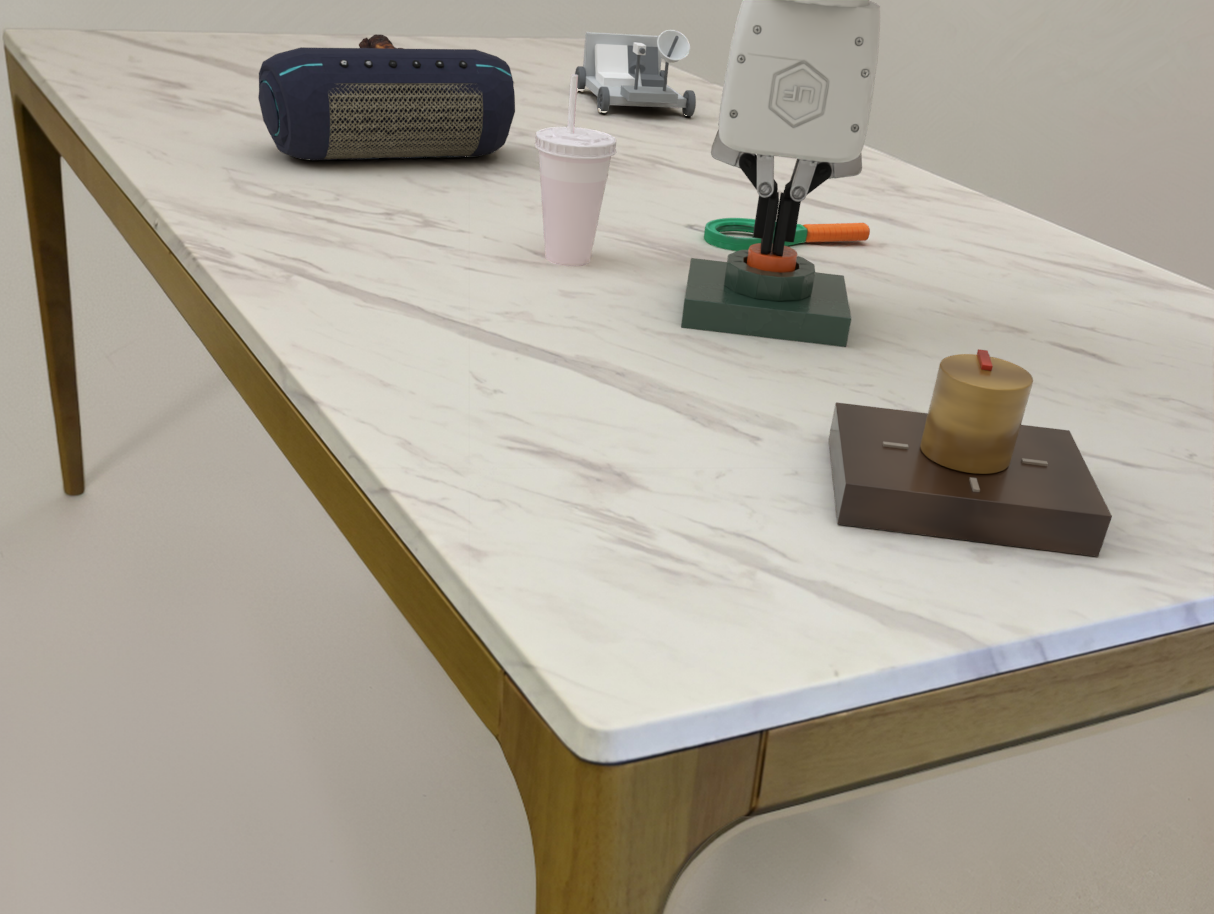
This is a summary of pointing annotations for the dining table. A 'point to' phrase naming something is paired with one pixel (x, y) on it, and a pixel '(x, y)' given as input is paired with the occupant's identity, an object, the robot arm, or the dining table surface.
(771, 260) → the button
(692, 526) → the dining table surface
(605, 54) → the toy car
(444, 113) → the portable speaker
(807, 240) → the magnifying glass
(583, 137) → the smoothie
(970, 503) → the holder base
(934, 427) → the dial
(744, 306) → the button box
